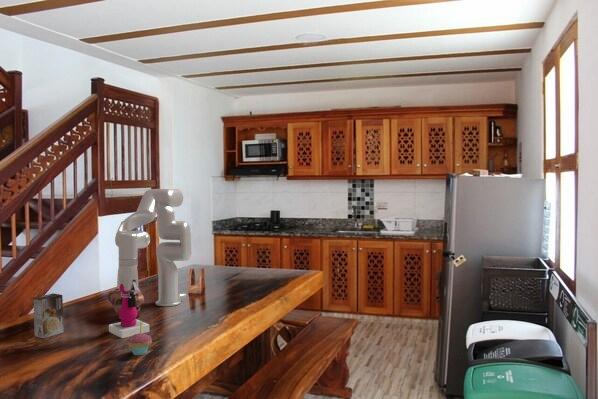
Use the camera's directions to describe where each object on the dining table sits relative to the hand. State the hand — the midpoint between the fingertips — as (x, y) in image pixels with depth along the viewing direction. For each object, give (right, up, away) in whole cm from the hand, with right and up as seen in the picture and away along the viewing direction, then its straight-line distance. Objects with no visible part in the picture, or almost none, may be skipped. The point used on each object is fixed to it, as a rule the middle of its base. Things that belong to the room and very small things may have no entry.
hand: (128, 305), depth 209 cm
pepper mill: (0, -8, 0) cm, 8 cm away
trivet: (0, -11, +1) cm, 11 cm away
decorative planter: (-9, -11, +23) cm, 27 cm away
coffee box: (-32, -12, -2) cm, 34 cm away
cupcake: (+13, -13, -24) cm, 30 cm away
